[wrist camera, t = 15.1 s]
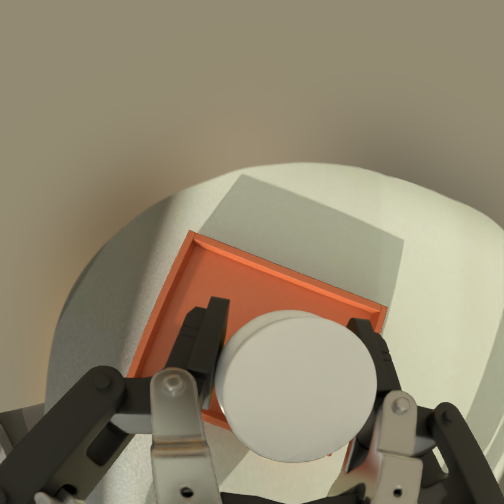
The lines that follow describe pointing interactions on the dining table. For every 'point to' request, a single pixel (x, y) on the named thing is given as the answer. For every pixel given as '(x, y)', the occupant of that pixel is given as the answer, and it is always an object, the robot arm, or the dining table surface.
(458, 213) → the dining table surface
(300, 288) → the tray
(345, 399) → the supplement bottle
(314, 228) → the dining table surface
